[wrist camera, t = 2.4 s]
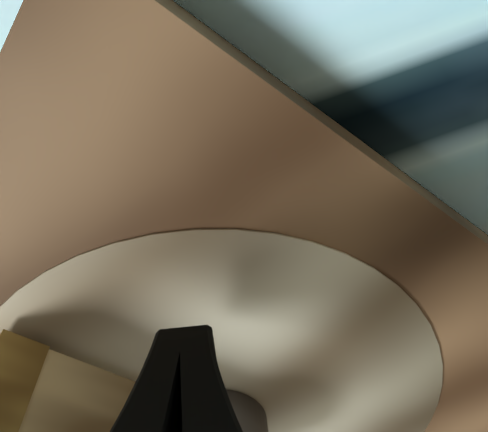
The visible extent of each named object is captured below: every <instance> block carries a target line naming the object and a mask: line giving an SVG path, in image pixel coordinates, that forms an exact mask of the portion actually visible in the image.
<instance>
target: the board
mask: <svg viewBox="0 0 488 432" xmlns="http://www.w3.org/2000/svg"><path fill="white" fill-rule="evenodd" d="M199 325H209V326H210V327H212V331H213V338H214V345H215V351H216V358H217V363H218V367H219V370H220V373H221V377H222V380H223V383H224V385H225V388H226V389H227V390H233V391H237V392H240V393H243V394H246V395H248V396H250V397H252V398H253V399H255V400H256V401H257V402H259V403H260V405H261V406H262V407H263V409H264V410H265V413H266V416H267V424H268V432H488V235H487V234H486V233H484V232H483V231H482V230H480V229H479V228H478V227H476V226H475V225H474V224H472V223H471V222H470V221H468V220H467V219H465V218H464V217H463V216H461V215H460V214H459V213H457V212H456V211H455V210H453V209H452V208H451V207H449V206H448V205H447V204H445V203H444V202H443V201H441V200H440V199H439V198H437V197H436V196H435V195H433V194H432V193H431V192H429V191H428V190H427V189H425V188H424V187H423V186H421V185H420V184H418V183H417V182H416V181H414V180H413V179H412V178H410V177H409V176H408V175H406V174H405V173H404V172H402V171H401V170H400V169H398V168H397V167H396V166H394V165H393V164H392V163H390V162H389V161H388V160H386V159H385V158H384V157H382V156H381V155H380V154H378V153H377V152H376V151H374V150H373V149H371V148H370V147H369V146H367V145H366V144H365V143H363V142H362V141H361V140H359V139H358V138H357V137H355V136H354V135H353V134H351V133H350V132H349V131H347V130H346V129H345V128H343V127H342V126H341V125H339V124H338V123H337V122H335V121H334V120H333V119H331V118H330V117H329V116H327V115H326V114H324V113H323V112H322V111H320V110H319V109H318V108H316V107H315V106H314V105H312V104H311V103H310V102H308V101H307V100H306V99H304V98H303V97H302V96H300V95H299V94H298V93H296V92H295V91H294V90H292V89H291V88H290V87H288V86H287V85H286V84H284V83H283V82H281V81H280V80H279V79H277V78H276V77H275V76H273V75H272V74H271V73H269V72H268V71H267V70H265V69H264V68H263V67H261V66H260V65H259V64H257V63H256V62H255V61H253V60H252V59H251V58H249V57H248V56H247V55H245V54H244V53H243V52H241V51H240V50H239V49H237V48H236V47H234V46H233V45H232V44H230V43H229V42H228V41H226V40H225V39H224V38H222V37H221V36H220V35H218V34H217V33H216V32H214V31H213V30H212V29H210V28H209V27H208V26H206V25H205V24H204V23H202V22H201V21H200V20H198V19H197V18H196V17H194V16H193V15H192V14H190V13H189V12H187V11H186V10H185V9H183V8H182V7H181V6H179V5H178V4H177V3H175V2H174V1H173V0H24V1H23V3H22V5H21V7H20V9H19V12H18V14H17V16H16V18H15V21H14V23H13V25H12V27H11V29H10V32H9V34H8V36H7V38H6V41H5V43H4V45H3V47H2V49H1V52H0V333H1V332H2V330H3V329H5V330H8V331H10V332H13V333H16V334H18V335H21V336H24V337H26V338H29V339H31V340H34V341H37V342H39V343H42V344H45V345H47V346H50V348H49V349H50V350H53V351H56V352H58V353H61V354H64V355H66V356H69V357H72V358H74V359H77V360H80V361H82V362H85V363H87V364H90V365H93V366H95V367H98V368H101V369H103V370H106V371H109V372H111V373H114V374H117V375H119V376H122V377H124V378H127V379H130V380H132V381H135V382H136V380H137V378H138V376H139V374H140V371H141V369H142V367H143V365H144V362H145V360H146V358H147V355H148V353H149V350H150V348H151V345H152V343H153V340H154V337H155V334H156V332H157V331H158V330H159V329H168V328H178V327H188V326H199Z"/></svg>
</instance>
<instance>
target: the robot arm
mask: <svg viewBox="0 0 488 432" xmlns="http://www.w3.org/2000/svg"><path fill="white" fill-rule="evenodd" d="M110 432H243V431H242V428H241V426H240V424H239V421H238V419H237V417H236V414H235V412H234V409H233V407H232V404H231V402H230V399H229V397H228V394H227V391H226V388H225V385H224V383H223V380H222V377H221V373H220V370H219V367H218V363H217V358H216V351H215V345H214V338H213V331H212V327H210V326H209V325H199V326H188V327H178V328H168V329H159V330H158V331H157V332H156V334H155V337H154V340H153V343H152V345H151V348H150V350H149V353H148V355H147V358H146V360H145V362H144V365H143V367H142V369H141V371H140V374H139V376H138V378H137V380H136V382H135V384H134V386H133V388H132V390H131V392H130V394H129V396H128V398H127V401H126V403H125V405H124V406H123V408H122V410H121V412H120V414H119V416H118V417H117V419H116V421H115V423H114V425H113V426H112V428H111V430H110Z"/></svg>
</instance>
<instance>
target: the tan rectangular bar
mask: <svg viewBox="0 0 488 432" xmlns="http://www.w3.org/2000/svg"><path fill="white" fill-rule="evenodd" d="M49 348H50V346H47V345H45V344H42V343H39V342H37V341H34V340H31V339H29V338H26V337H24V336H21V335H18V334H16V333H13V332H10V331H8V330H5V329H3V330H2V332H1V333H0V432H110V430H111V428H112V426H113V425H114V423H115V421H116V419H117V417H118V416H119V414H120V412H121V410H122V408H123V406H124V405H125V403H126V401H127V398H128V396H129V394H130V392H131V390H132V388H133V386H134V384H135V381H132V380H130V379H127V378H124V377H122V376H119V375H117V374H114V373H111V372H109V371H106V370H103V369H101V368H98V367H95V366H93V365H90V364H87V363H85V362H82V361H80V360H77V359H74V358H72V357H69V356H66V355H64V354H61V353H58V352H56V351H53V350H50V349H49ZM226 391H227V394H228V397H229V399H230V402H231V404H232V407H233V409H234V412H235V414H236V417H237V419H238V421H239V424H240V426H241V428H242V431H243V432H268V424H267V416H266V413H265V410H264V409H263V407H262V406H261V405H260V403H259V402H257V401H256V400H255V399H253V398H252V397H250V396H248V395H246V394H243V393H240V392H237V391H233V390H227V389H226Z"/></svg>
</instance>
